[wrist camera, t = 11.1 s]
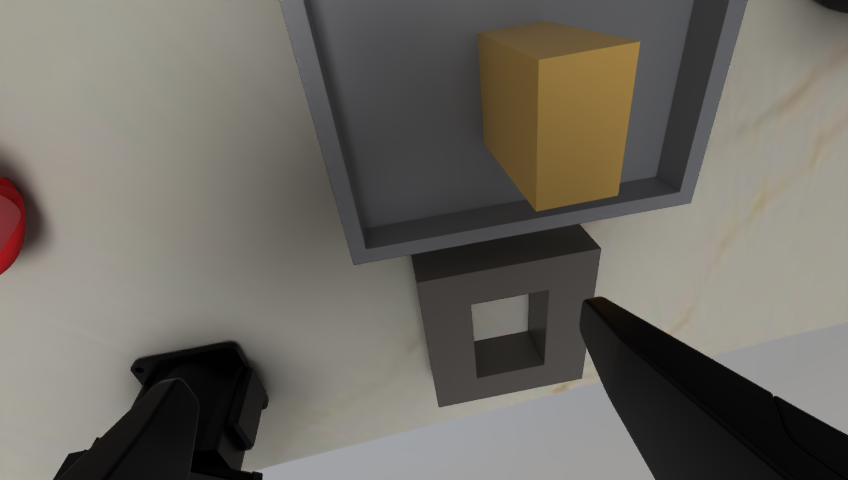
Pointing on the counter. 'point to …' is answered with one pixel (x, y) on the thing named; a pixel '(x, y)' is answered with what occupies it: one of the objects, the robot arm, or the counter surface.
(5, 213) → the cap
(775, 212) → the counter surface
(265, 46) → the counter surface
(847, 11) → the pen holder
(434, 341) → the gray square frame
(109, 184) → the counter surface
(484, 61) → the block
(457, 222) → the parts tray
